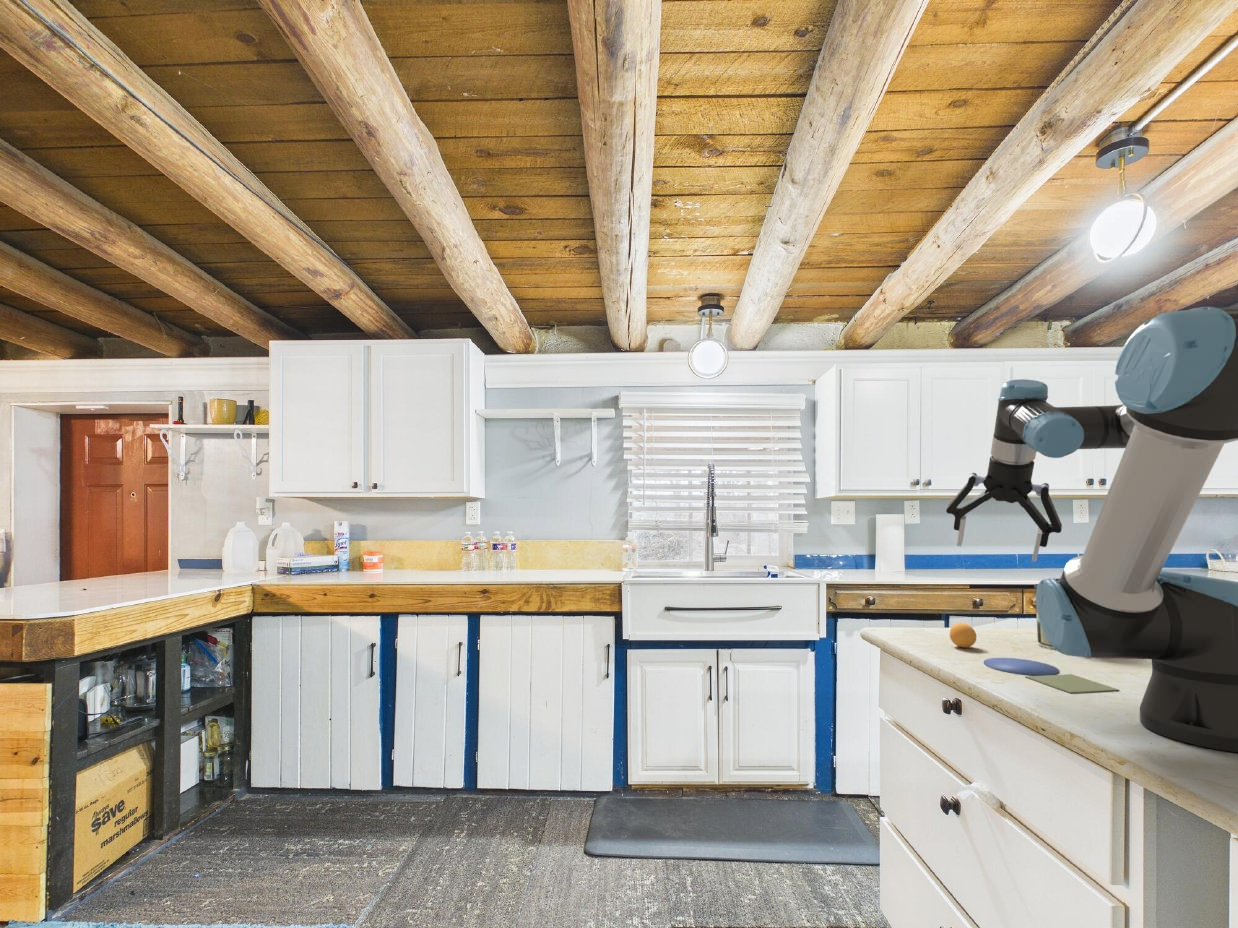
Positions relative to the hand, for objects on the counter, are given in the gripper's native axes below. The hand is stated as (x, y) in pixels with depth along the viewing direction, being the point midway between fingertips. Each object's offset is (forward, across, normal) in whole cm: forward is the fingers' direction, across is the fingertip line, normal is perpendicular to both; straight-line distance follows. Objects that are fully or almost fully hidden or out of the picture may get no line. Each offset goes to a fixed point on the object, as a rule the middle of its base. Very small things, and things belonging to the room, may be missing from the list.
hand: (996, 550), depth 129 cm
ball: (+26, +4, -3) cm, 26 cm away
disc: (+21, -8, +9) cm, 24 cm away
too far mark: (+16, -16, +16) cm, 28 cm away
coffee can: (+30, -16, -15) cm, 37 cm away
